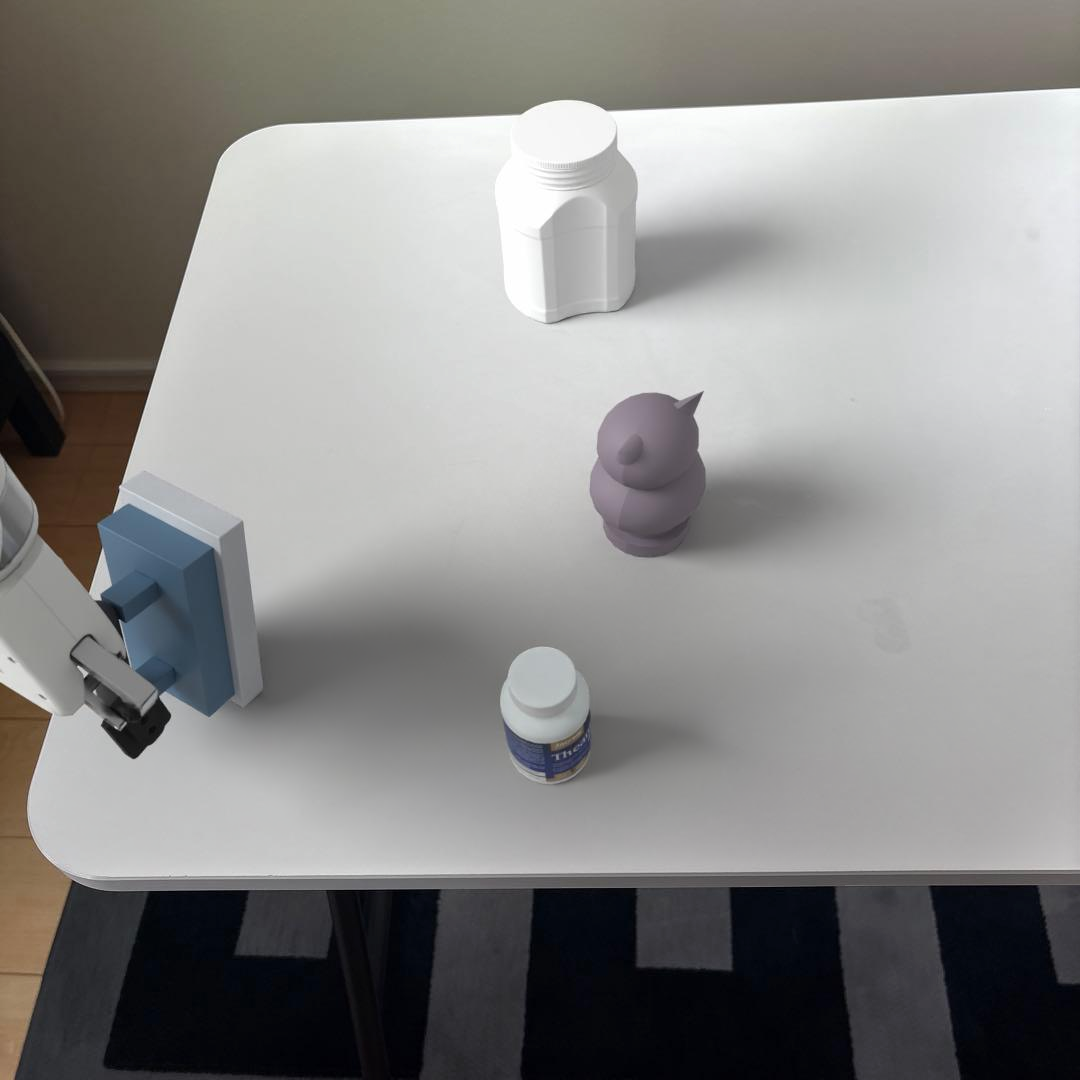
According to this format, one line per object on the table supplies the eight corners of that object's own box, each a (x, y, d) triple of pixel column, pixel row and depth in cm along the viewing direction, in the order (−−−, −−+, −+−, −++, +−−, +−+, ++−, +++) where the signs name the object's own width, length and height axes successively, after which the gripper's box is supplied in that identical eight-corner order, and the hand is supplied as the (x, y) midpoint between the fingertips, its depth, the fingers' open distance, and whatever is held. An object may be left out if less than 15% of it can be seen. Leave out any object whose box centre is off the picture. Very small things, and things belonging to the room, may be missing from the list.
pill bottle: (564, 801, 66) (558, 735, 59) (493, 761, 68) (477, 691, 60) (607, 733, 69) (606, 660, 61) (537, 695, 71) (527, 620, 63)
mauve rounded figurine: (648, 459, 82) (653, 346, 72) (725, 518, 78) (741, 407, 69) (567, 522, 79) (560, 413, 69) (643, 586, 75) (647, 481, 66)
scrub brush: (143, 469, 65) (16, 550, 59) (243, 520, 62) (121, 610, 56) (176, 639, 75) (70, 724, 68) (264, 689, 72) (162, 782, 66)
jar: (619, 235, 97) (620, 83, 85) (647, 305, 92) (653, 153, 79) (496, 258, 96) (479, 108, 84) (516, 330, 91) (502, 181, 79)
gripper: (-244, 508, 50) (-59, 685, 64) (9, 664, 44) (153, 823, 58) (-113, 404, 54) (35, 593, 67) (136, 536, 48) (243, 714, 61)
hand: (89, 699), depth 62 cm, fingers open, 9 cm apart
